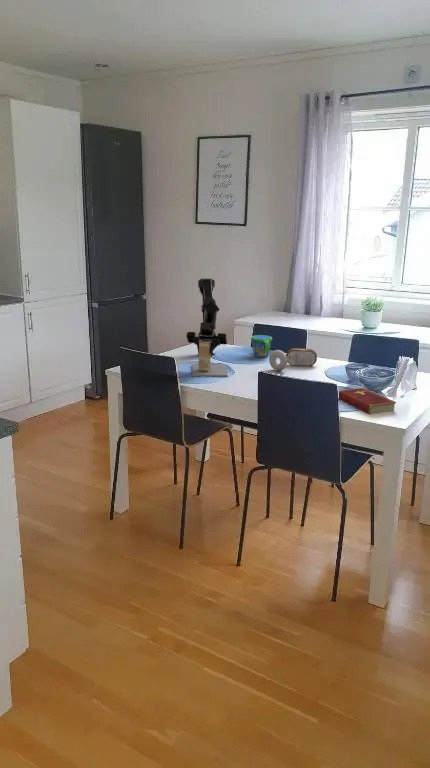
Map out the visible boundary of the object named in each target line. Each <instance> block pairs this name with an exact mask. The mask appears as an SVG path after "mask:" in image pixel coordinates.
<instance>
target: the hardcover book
mask: <svg viewBox="0 0 430 768" xmlns="http://www.w3.org/2000/svg"><path fill="white" fill-rule="evenodd" d="M338 391H339V399H338V400H340V401H341V400H342V401H341V402H343V401H344V402H343V403H345V402H346V403H345V404H347V403H348V405H349V404H350V405H349V406H351V405H352V407H353V406H354V407H353V408H355V407H356V408H355V409H357V408H358V409H357V410H359V409H360V410H359V411H361V412H364V413H365V414H368V415H375V414H380V413H389V412H393V411H395V405H396V404H397V401H394V400H392V399H390V398H388V397H385V396H384V395H381V394H380V393H376V392H374V391H372V390H369V389H366V388H365V387H359V388H357V387H355V388H349V389H339V390H338Z"/></svg>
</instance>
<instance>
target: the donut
mask: <svg viewBox="0 0 430 768" xmlns="http://www.w3.org/2000/svg"><path fill="white" fill-rule="evenodd" d="M277 358H278V359H279V362H277ZM268 360H269V365H270V366H271V368H272V370H274V371H277V372H281V371H284V370H285V369H286V368H287V366H288V362H287V357H286V353H285V352H284V351H283V350H280V349H275V350H273V351H271V353H270V354H269V356H268Z"/></svg>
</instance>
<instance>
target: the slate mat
mask: <svg viewBox="0 0 430 768" xmlns="http://www.w3.org/2000/svg"><path fill="white" fill-rule="evenodd" d="M191 367H192V369H191V370H192V374H191V375H192V378H199V377H198V376H212V377H211V378H228V377H229V374H228V370H227V364H225V363H224V364H222V363H220V364H219V363H218V364H217V363H216V364H215V363H214V364H211V363H210V370H209V371H202V370H199V363H198V364H197V363H193V364H192V366H191Z"/></svg>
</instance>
